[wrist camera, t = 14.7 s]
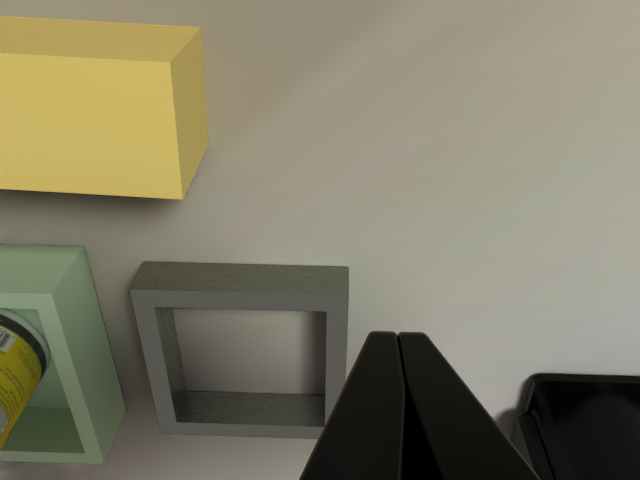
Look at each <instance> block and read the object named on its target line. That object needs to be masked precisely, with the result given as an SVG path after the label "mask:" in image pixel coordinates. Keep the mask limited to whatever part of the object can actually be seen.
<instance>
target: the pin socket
mask: <svg viewBox="0 0 640 480" xmlns="http://www.w3.org/2000/svg"><path fill="white" fill-rule="evenodd" d="M130 294H131V299H132V303H133V308H134V312H135V317H136V322H137V326H138V331H139V335H140V340H141V344H142V349H143V354H144V358H145V363H146V367H147V372H148V377H149V381H150V386H151V390H152V395H153V400H154V404H155V409H156V413H157V418H158V422H159V427H160V432H161V434H184V435H213V436H243V437H273V438H303V439H319V437H320V435H321V433H322V431H323V429H324V427H325V424H326V422H327V420H328V418H329V416H330V414H331V412H332V410H333V408H334V406H335V403H336V401H337V399H338V397H339V395H340V393H341V391H342V389H343V387H344V385H345V375H346V350H347V325H348V300H349V267H341V266H301V265H261V264H222V263H182V262H143V264H142V266H141V268H140V270H139V272H138V274H137V276H136V278H135V280H134V282H133V284H132V286H131V288H130ZM172 307H177V308H214V309H250V310H286V311H323V312H327V319H326V390H325V395H297V394H265V393H233V392H201V391H186V389H185V383H184V377H183V371H182V365H181V360H180V354H179V348H178V342H177V336H176V331H175V325H174V319H173V313H172Z"/></svg>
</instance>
